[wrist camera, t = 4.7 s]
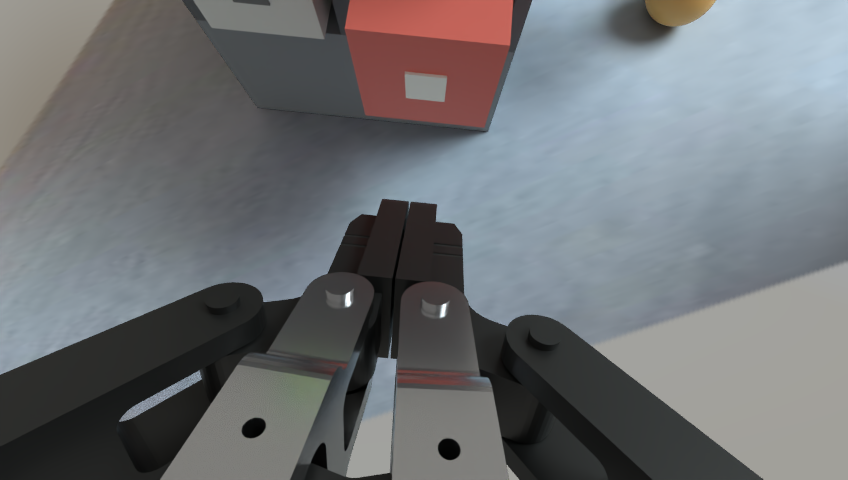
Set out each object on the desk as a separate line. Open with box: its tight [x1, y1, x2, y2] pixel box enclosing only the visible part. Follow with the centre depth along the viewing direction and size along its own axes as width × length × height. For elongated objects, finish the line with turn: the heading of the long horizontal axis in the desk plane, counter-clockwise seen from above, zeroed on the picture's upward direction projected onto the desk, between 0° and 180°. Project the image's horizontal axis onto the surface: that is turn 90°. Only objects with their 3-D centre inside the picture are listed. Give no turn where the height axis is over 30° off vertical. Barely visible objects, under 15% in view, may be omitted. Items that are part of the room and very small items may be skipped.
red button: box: [345, 0, 513, 128], centre depth 15 cm, size 5×6×5 cm
